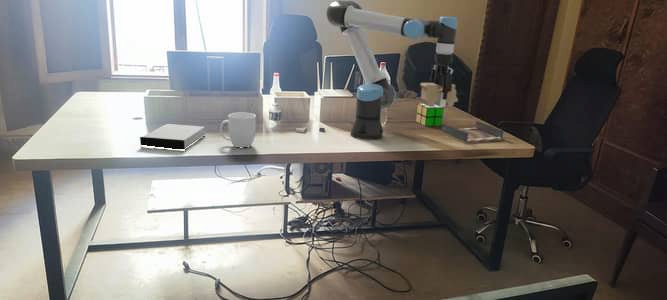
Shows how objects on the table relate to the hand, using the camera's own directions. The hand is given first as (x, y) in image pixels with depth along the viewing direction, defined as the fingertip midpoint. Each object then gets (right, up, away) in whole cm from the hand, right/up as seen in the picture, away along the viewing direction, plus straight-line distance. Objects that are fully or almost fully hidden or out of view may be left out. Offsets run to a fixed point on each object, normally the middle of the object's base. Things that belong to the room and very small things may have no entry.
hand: (437, 104), depth 207 cm
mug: (-86, -19, -19) cm, 90 cm away
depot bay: (+19, -14, +14) cm, 28 cm away
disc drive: (-113, -18, -19) cm, 116 cm away
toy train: (0, -1, 0) cm, 1 cm away
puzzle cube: (+3, -7, +35) cm, 36 cm away
